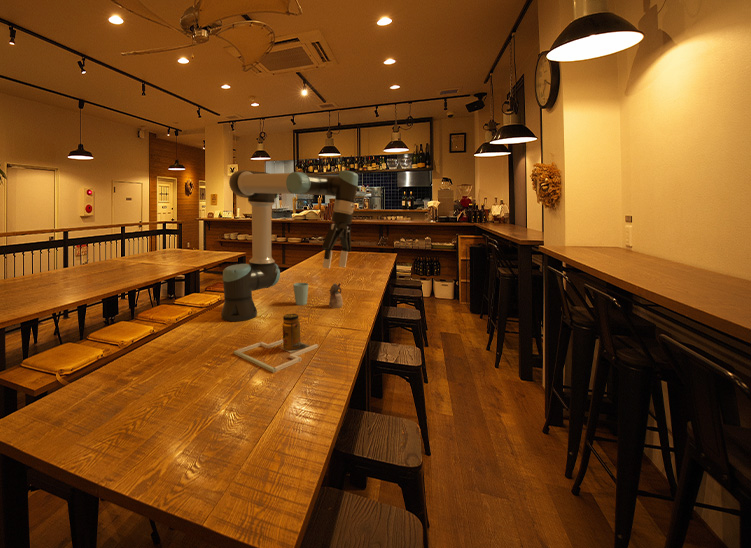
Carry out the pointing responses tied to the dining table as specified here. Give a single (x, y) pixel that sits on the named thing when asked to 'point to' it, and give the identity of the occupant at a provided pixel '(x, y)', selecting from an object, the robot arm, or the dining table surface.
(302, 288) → the cup
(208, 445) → the dining table surface
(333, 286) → the figurine
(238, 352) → the t outline
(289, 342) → the condiment
